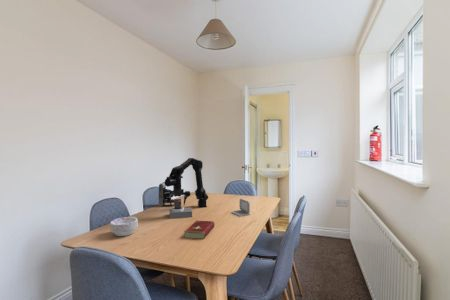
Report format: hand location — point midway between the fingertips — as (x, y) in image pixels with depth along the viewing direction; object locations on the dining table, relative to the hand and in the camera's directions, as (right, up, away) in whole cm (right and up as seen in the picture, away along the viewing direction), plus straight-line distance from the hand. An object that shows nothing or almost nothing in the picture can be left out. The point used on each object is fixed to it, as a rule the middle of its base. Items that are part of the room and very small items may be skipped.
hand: (177, 205), depth 184 cm
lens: (0, -3, 0) cm, 3 cm away
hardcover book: (+20, -8, -35) cm, 41 cm away
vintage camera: (-14, -7, +33) cm, 36 cm away
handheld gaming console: (+47, -7, +3) cm, 47 cm away
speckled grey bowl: (-25, -9, -36) cm, 45 cm away
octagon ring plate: (+2, -7, +1) cm, 8 cm away
